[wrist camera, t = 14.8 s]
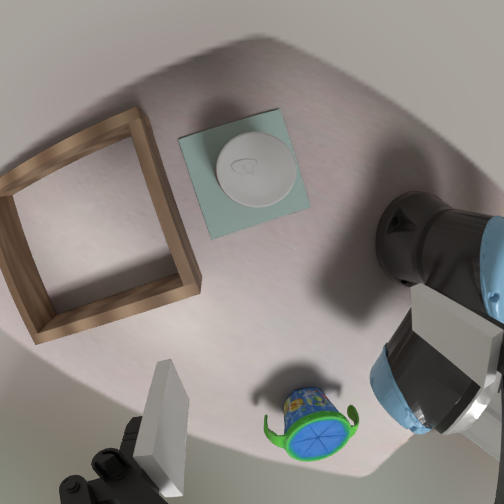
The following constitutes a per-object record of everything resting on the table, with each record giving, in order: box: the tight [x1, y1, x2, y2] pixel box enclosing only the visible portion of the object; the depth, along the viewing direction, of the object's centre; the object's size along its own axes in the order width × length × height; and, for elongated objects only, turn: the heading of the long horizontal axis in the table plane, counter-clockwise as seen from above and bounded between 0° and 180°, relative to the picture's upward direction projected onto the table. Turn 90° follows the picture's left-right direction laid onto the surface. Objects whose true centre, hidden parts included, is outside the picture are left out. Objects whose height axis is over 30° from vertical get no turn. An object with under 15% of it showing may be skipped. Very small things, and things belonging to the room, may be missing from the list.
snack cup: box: [264, 388, 359, 461], centre depth 46 cm, size 16×11×10 cm
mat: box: [179, 109, 310, 239], centre depth 41 cm, size 14×14×1 cm
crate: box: [0, 107, 202, 345], centre depth 37 cm, size 26×23×7 cm
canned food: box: [216, 132, 296, 208], centre depth 36 cm, size 8×8×11 cm
